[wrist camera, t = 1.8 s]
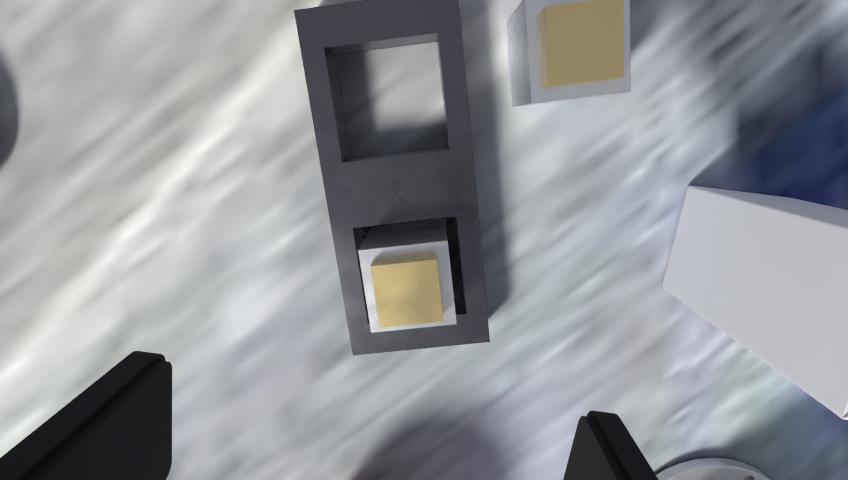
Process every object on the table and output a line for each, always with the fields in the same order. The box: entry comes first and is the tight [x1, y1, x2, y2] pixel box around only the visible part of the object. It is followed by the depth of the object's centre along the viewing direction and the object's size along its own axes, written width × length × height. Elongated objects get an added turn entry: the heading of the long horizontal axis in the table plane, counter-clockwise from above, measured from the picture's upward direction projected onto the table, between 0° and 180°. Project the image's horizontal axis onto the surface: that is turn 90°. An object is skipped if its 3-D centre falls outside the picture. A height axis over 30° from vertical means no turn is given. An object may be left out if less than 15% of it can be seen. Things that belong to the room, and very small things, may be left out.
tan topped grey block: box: [358, 219, 457, 333], centre depth 29 cm, size 5×5×7 cm
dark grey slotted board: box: [294, 0, 490, 355], centre depth 30 cm, size 9×21×3 cm, turn 7°
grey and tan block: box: [507, 0, 631, 107], centre depth 26 cm, size 5×5×7 cm
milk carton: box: [662, 186, 848, 420], centre depth 23 cm, size 7×7×19 cm
